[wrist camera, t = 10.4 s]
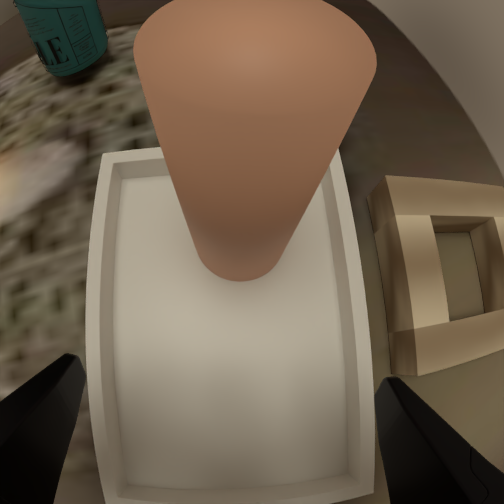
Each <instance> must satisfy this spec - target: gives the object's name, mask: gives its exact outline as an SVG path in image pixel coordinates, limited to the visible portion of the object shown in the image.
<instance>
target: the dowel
mask: <svg viewBox="0 0 504 504" xmlns="http://www.w3.org/2000/svg"><path fill="white" fill-rule="evenodd" d="M133 52H134V59H135V63H136V67H137V70H138V74H139V77H140V81H141V84H142V88H143V91H144V94H145V98H146V101H147V104H148V108H149V111H150V114H151V118H152V121H153V124H154V127H155V130H156V134H157V137H158V140H159V143H160V146H161V149H162V152H163V156H164V159H165V162H166V165H167V168H168V171H169V174H170V177H171V180H172V183H173V186H174V189H175V191H176V194H177V197H178V200H179V203H180V206H181V209H182V212H183V214H184V217H185V220H186V223H187V226H188V229H189V231H190V234H191V237H192V240H193V242H194V245H195V248H196V250H197V253H198V255H199V258H200V259H201V261H202V263H203V264H204V265H205V266H206V267H207V268H208V269H209V270H210V271H211V272H212V273H214V274H215V275H217V276H219V277H221V278H223V279H226V280H230V281H238V282H242V281H250V280H254V279H257V278H259V277H261V276H263V275H265V274H266V273H268V272H269V271H270V270H271V269H272V268H273V267H274V266H275V265H276V264H277V262H278V261H279V259H280V257H281V256H282V254H283V252H284V250H285V248H286V246H287V245H288V243H289V241H290V239H291V237H292V235H293V233H294V231H295V230H296V228H297V226H298V224H299V222H300V220H301V218H302V216H303V215H304V213H305V211H306V209H307V207H308V205H309V203H310V201H311V199H312V198H313V196H314V194H315V192H316V190H317V188H318V186H319V184H320V182H321V180H322V178H323V177H324V175H325V173H326V171H327V169H328V167H329V165H330V163H331V161H332V159H333V157H334V155H335V153H336V151H337V149H338V147H339V145H340V143H341V141H342V140H343V138H344V136H345V134H346V132H347V130H348V128H349V126H350V124H351V122H352V120H353V118H354V116H355V114H356V112H357V110H358V108H359V106H360V104H361V102H362V100H363V98H364V96H365V94H366V91H367V89H368V87H369V85H370V83H371V81H372V79H373V77H374V74H375V72H376V65H377V61H376V54H375V51H374V47H373V45H372V43H371V41H370V39H369V38H368V36H367V35H366V34H365V32H364V31H363V30H362V29H361V28H360V27H359V26H358V24H357V23H355V22H354V21H353V20H352V19H351V18H350V17H348V16H347V15H346V14H344V13H343V12H341V11H340V10H338V9H337V8H335V7H333V6H332V5H330V4H328V3H326V2H324V1H322V0H174V1H172V2H170V3H168V4H166V5H165V6H163V7H162V8H160V9H159V10H157V11H156V12H155V13H154V14H153V15H151V16H150V17H149V18H148V19H147V20H146V22H145V23H144V24H143V25H142V27H141V28H140V30H139V31H138V33H137V36H136V38H135V41H134V48H133Z"/></svg>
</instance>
